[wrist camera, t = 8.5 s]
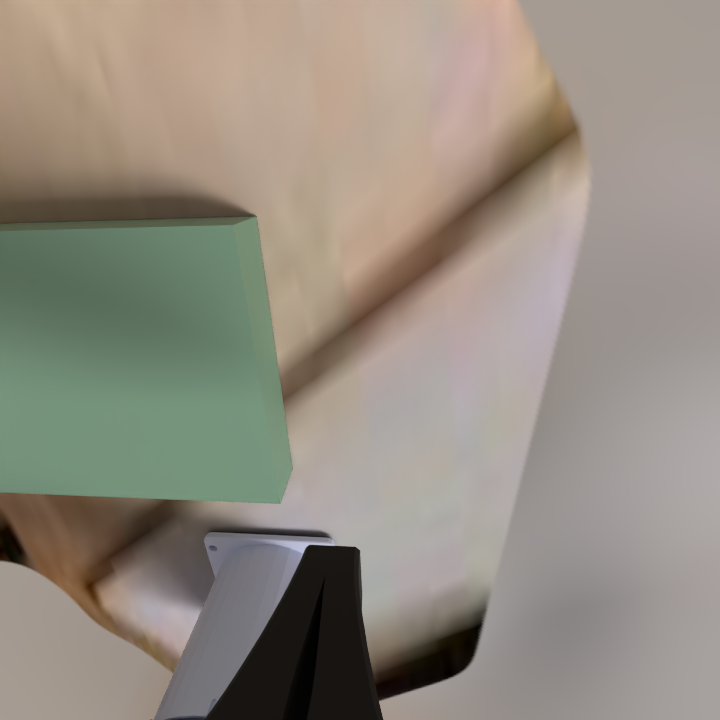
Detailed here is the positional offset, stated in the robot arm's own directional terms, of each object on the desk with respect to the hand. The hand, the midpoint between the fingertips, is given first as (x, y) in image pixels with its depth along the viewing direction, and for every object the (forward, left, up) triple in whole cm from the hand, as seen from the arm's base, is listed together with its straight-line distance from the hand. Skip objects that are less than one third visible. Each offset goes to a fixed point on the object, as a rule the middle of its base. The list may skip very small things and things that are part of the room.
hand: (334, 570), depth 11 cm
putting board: (+2, +15, -9) cm, 18 cm away
